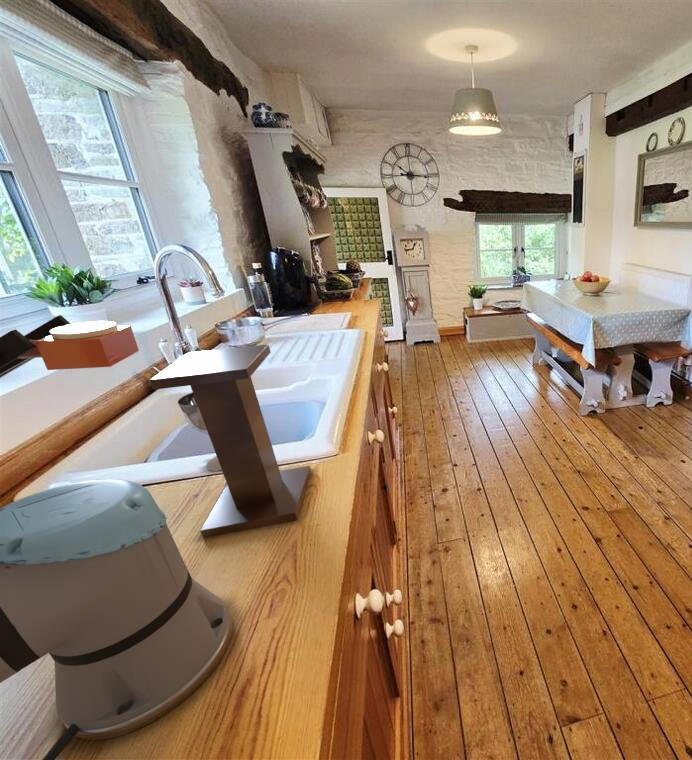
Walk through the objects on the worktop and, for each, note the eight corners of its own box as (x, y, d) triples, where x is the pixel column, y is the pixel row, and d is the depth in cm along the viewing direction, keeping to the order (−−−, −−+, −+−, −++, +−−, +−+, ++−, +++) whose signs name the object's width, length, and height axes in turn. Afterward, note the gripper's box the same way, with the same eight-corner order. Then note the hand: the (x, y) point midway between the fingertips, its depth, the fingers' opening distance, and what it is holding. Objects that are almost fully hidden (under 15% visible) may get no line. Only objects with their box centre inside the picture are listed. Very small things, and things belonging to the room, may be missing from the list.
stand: (202, 537, 65) (136, 383, 55) (232, 485, 78) (183, 351, 67) (297, 519, 68) (251, 370, 58) (311, 471, 81) (276, 341, 70)
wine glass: (256, 450, 89) (235, 387, 83) (230, 472, 82) (205, 405, 76) (222, 449, 90) (199, 387, 84) (193, 471, 82) (166, 405, 76)
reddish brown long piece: (-54, 375, 52) (-74, 338, 50) (-6, 357, 58) (-21, 324, 56) (110, 367, 56) (97, 333, 54) (139, 351, 62) (129, 320, 60)
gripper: (-7, 407, 66) (117, 333, 66) (-157, 481, 48) (13, 379, 48) (-57, 370, 62) (73, 292, 63) (-239, 436, 44) (-56, 327, 45)
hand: (47, 330), depth 55 cm, fingers closed on reddish brown long piece, 7 cm apart
